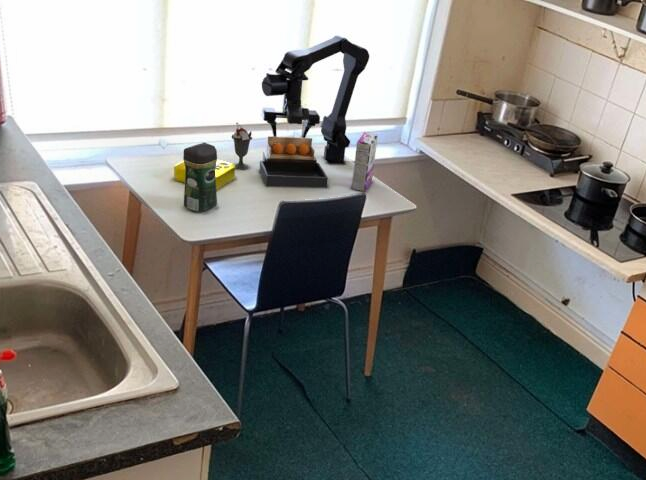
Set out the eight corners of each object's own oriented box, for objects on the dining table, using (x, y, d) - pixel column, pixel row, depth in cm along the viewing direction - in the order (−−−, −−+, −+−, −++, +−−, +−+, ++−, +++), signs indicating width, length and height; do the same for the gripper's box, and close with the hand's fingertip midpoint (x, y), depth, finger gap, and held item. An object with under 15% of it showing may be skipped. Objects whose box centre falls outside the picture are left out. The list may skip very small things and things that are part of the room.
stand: (310, 168, 265) (312, 152, 262) (315, 176, 260) (316, 160, 257) (262, 166, 260) (263, 150, 256) (265, 174, 254) (266, 158, 251)
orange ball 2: (294, 154, 258) (294, 143, 256) (296, 155, 255) (297, 144, 253) (284, 153, 257) (284, 143, 255) (286, 154, 253) (286, 143, 252)
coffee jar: (200, 198, 231) (200, 138, 220) (221, 206, 229) (222, 145, 218) (178, 207, 224) (178, 145, 213) (199, 215, 221) (200, 153, 211)
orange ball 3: (307, 154, 259) (307, 144, 258) (309, 155, 256) (310, 144, 255) (297, 154, 258) (297, 143, 257) (299, 155, 255) (299, 144, 254)
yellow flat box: (196, 166, 251) (196, 151, 249) (237, 177, 248) (237, 163, 246) (171, 179, 239) (171, 164, 237) (213, 191, 237) (214, 177, 234)
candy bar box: (358, 178, 264) (364, 131, 255) (372, 181, 264) (378, 134, 254) (350, 189, 255) (356, 140, 245) (364, 192, 254) (371, 144, 245)
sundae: (226, 167, 255) (228, 122, 246) (237, 161, 260) (239, 117, 251) (243, 172, 253) (246, 127, 244) (254, 166, 258) (256, 122, 250)
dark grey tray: (317, 172, 263) (318, 162, 261) (326, 187, 253) (327, 177, 251) (259, 170, 256) (260, 160, 254) (266, 186, 246) (267, 175, 244)
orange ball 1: (281, 153, 256) (281, 142, 255) (283, 154, 253) (284, 143, 252) (271, 153, 255) (271, 142, 254) (273, 154, 252) (273, 143, 251)
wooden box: (310, 154, 260) (311, 138, 257) (314, 159, 256) (315, 143, 253) (266, 152, 256) (267, 136, 252) (269, 158, 251) (270, 141, 248)
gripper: (268, 99, 239) (265, 148, 248) (325, 103, 245) (321, 151, 254) (262, 89, 247) (259, 136, 256) (318, 93, 253) (313, 139, 262)
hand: (288, 141), depth 257 cm, fingers open, 9 cm apart
